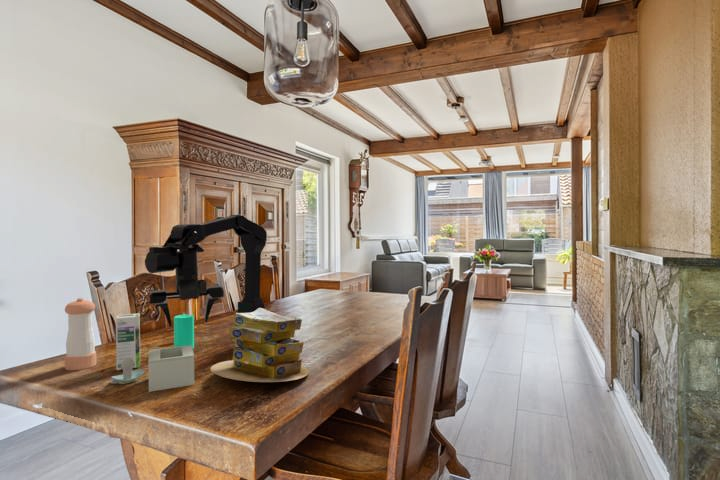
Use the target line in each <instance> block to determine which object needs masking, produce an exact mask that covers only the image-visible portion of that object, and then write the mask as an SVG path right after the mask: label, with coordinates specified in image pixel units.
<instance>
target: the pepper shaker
mask: <svg viewBox="0 0 720 480" xmlns="http://www.w3.org/2000/svg"><path fill="white" fill-rule="evenodd" d="M95 309H96V305H95V303H94V302H92V301H90V300H85V299H84V298H82V297H80V298H79V297H78V298H77V299H76V301H75V300H74V301H71V302H69V303H67V305H65V307H64V312H65V313H66V315H67V314H68V320H67V323H68V324H67V325H68V326H67V327H68V330H67V336H66V340H65V341H66V342H65V346H66V347H65V350H66V354H65V355H64V369H65V371H80V370H84V369H85V370H86V369H89V368H93V367H94V366H96V365H97V351H96V350H95V346H96V345H95V344H96V343H95V341H96V339H95V334H94V330H93V312H95Z"/></svg>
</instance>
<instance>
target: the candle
mask: <svg viewBox="0 0 720 480" xmlns="http://www.w3.org/2000/svg"><path fill="white" fill-rule="evenodd" d="M188 345H191V346H192V349H193V350H194V348H195V316H194V315H193V314H186V313H183V314H178V315H176V316H173V347H179V346H188Z"/></svg>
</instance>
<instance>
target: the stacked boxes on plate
mask: <svg viewBox="0 0 720 480" xmlns="http://www.w3.org/2000/svg"><path fill="white" fill-rule="evenodd" d="M302 321H303V319H302V318H300V317H299V318H297V317H293V316H286V315H282V314H278V313H275V312H272V311H270V310H268V309H266V308H265V309H263V308H258V309H257V310H255V311H254V312H247V313H237V312H235V313H234V314H233V325H234V326H233V325H232V326H230V330H229V337H228V338H230V339H235V341H234V342H233V343H235V345H234V346H232V345H231V348H232V351H233V353H232V360H225V361H220V362H217V363H215V364H213V365H212V366H211V367H210V371H211V372H212V373H213V374H215V375H217V376H219V377H223V378H226V379H231V380H234V381H244V382H253V383H280V382H289V381H296V380H299V379H302V378H305V377H307V376H308V375H309V373H310V372H309V369H308V368H306V367H305V366H303V365H302V359H300V356H301V353H303V347H304V341H302V340H299V339H298V340H297V339H292V338H295V332H296V331H299V330H301V327H302Z"/></svg>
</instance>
